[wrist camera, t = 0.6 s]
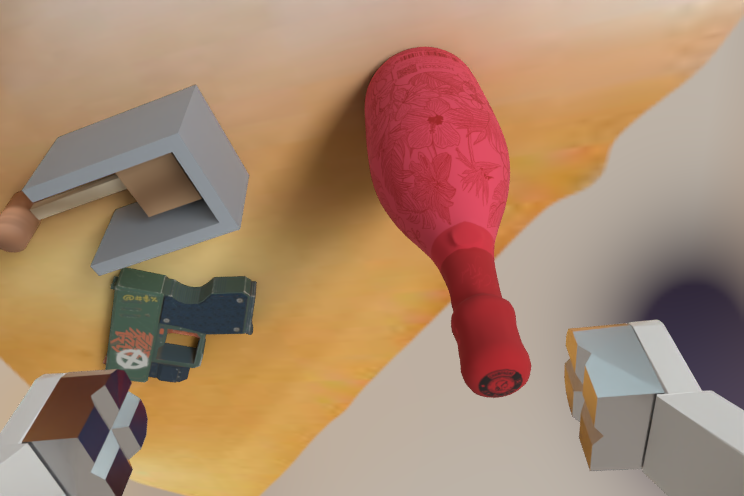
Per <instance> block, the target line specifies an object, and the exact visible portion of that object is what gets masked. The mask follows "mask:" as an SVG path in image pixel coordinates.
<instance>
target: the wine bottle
mask: <svg viewBox="0 0 744 496" xmlns="http://www.w3.org/2000/svg"><path fill="white" fill-rule="evenodd" d="M365 127H366V141H367V152H368V160H369V167H370V173H371V178H372V182H373V185H374V189H375V191H376V194H377V196H378V198H379V201H380V203H381V204H382V206H383V208H384V209H385V211H386V213H387V214H388V215H389V217H390V218H391V219H392V221H393V222H394V223H395V225H396V226H397V227H398V228H399V229H400V230H401V231H402V232H403V233H404V234H405V235H406V236H407V237H408V238H409V239H410V240H411V241H412V242H413V243H414V244H416V245H417V246H418V247H419V248H420V249H421V250H422V251H424V252H425V253H426V254H427V255H428V256H429V257H430V258H431V259H432V260H433V262H434V263H435V265H436V266H437V267H438V269H439V271H440V273H441V275H442V277H443V279H444V281H445V283H446V285H447V287H448V290H449V293H450V297H451V304H452V308H453V314H452V318H451V328H452V333H453V335H454V337H455V339H456V341H457V344H458V351H459V357H460V365H461V373H462V376H463V379H464V381H465V383H466V384H467V386H468V387H469V388H470V389H471V390H472V391H473V392H474V393H476V394H477V395H480V396H484V397H493V398H495V397H503V396H507V395H510V394H512V393H514V392H516V391H518V390H519V389H520V388H521V387H523V386H524V385H525V384H526V382H527V381H528V379H529V376H530V371H531V362H530V359H529V355H528V353H527V351H526V350H525V348H524V346H523V344H522V342H521V339H520V336H519V333H518V329H517V326H516V316H515V311H514V308H513V307H512V305H511V304H510V302H509V301H507V300H505V299H503V298H502V296H501V292H500V288H499V283H498V279H497V274H496V269H495V262H494V244H495V239H496V235H497V232H498V228H499V225H500V222H501V219H502V216H503V213H504V210H505V206H506V201H507V197H508V191H509V181H510V161H509V154H508V149H507V145H506V142H505V138H504V135H503V133H502V130H501V128H500V126H499V123H498V121H497V119H496V117H495V115H494V113H493V110H492V108H491V107H490V105H489V103H488V101H487V99H486V97H485V95H484V93H483V91H482V90H481V88H480V86H479V84H478V82H477V80H476V79H475V77H474V75H473V74H472V72H471V71H470V69H469V68H468V67H467V66H466V65H465V63H464V62H463V61H461V60H460V59H459V58H458V57H456V56H455V55H453V54H451V53H449V52H447V51H445V50H442V49H438V48H433V47H417V48H411V49H408V50H405V51H402V52H400V53H398V54H396V55H394V56H392V57H391V58H389V59H388V60H387V61H386V62H384V63H383V64H382V65H381V66H380V67H379V69H378V70H377V71H376V73H375V74H374V76H373V77H372V79H371V81H370V83H369V86H368V89H367V92H366V98H365Z"/></svg>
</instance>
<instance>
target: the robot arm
mask: <svg viewBox="0 0 744 496" xmlns="http://www.w3.org/2000/svg"><path fill="white" fill-rule="evenodd" d="M566 347H567V350H568V353H569V356H570V359H569V360H568V361H567V362H566V363H565V376H564V378H565V388H566V395H567V399H568V403H569V407H570V411H571V414H572V417H574V418H575V419H576V420H578V421H579V422H580V431H579V439H580V442H581V445H582V448H583V451H584V454H585V457H586V460H587V463H588V466H589V469H590V471H601V470H628V469H643V473H645V474H646V475H647V476H648V477H649V478H650V479H651V480H652V481H653V482H654V483H655V484H656V485H657V486H658V487H659V488H660V489H661V490H662V491H663V492H664V493H666V494H667V495H668V496H744V410H742V409H740V408H739V407H737V406H736V405H734V404H732V403H731V402H729V401H728V400H726V399H724V398H723V397H721V396H719V395H718V394H716V393H715V392H713V391H702V390H701V388H700V387H699V385H698V383H697V381H696V380H695V378H694V376H693V375H692V373H691V371H690V369H689V368H688V366H687V364H686V362H685V361H684V359H683V357H682V355H681V354H680V352H679V350H678V349H677V347H676V345H675V343H674V342H673V340H672V338H671V336H670V335H669V333H668V331H667V329H666V328H665V326H664V324H663V323H662V322H660V321H659V320H651V321H641V322H631V323H627V324H626V323H623V324H614V325H603V326H593V327H582V328H571V329H568V332H567V336H566ZM131 384H132V382H131V380H130V379H129V377H128V375H127V374H126V372H125V370H119V369H111V370H95V371H79V372H68V373H57V374H44V375H42V376H40V377H39V378H37V379H36V380H35V381H34V383H33V384H32V386H31V387H30V389H29V390H28V392H27V394H26V395H25V396H24V398H23V400H22V401H21V402H20V404H19V406H18V407H17V409H16V410H15V412H14V413H13V415H12V416H11V418H10V419H9V421H8V422H7V424H6V425H5V427H4V428H3V430H2V432H1V433H0V496H122V494H123V492H124V489H125V487H126V485H127V482H128V480H129V477H130V475H131V472H132V470H133V469H132V466H131V464H130V461H129V459H130V458H131V457H132V456H133V455H135V454H136V453H137V452H138V451H139V450H140V449H141V448H142V445H143V442H144V440H145V437H146V432H147V420H148V419H147V414H146V410H145V407H144V405H143V403H142V401H141V399H140V398H138V397H137V396H135V395H133V394H132V393H130V392H129V389H130V386H131Z"/></svg>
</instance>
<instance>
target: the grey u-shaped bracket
mask: <svg viewBox="0 0 744 496" xmlns="http://www.w3.org/2000/svg"><path fill="white" fill-rule="evenodd" d="M171 152H173V154H174V155H175V157H176V158H177V160H178V161H179V163H180V164H181V166H182V167H183V169H184V170H185V172H186V173H187V175H188V176H189V178H190V179H191V181H192V182H193V184H194V185H195V187H196V188H197V190H198V191H199V193H200V194H201V196H202V199H200V200H197V201H194V202H191V203H188V204H185V205H182V206H180V207H177V208H174V209H171V210H168V211H165V212H162V213H159V214H156V215H154V216H151V217H148V215H147V214H146V213H145V211H144V210H143V209H142V207H141V206H140V205H139V204H138V202H136V203H133V204H130V205H127V206H124V207H121V208H118V209H116V210H115V212H114V214H113V216H112V219H111V221H110V223H109V225H108V228H107V230H106V232H105V234H104V237H103V239H102V241H101V243H100V246H99V248H98V250H97V252H96V254H95V257H94V259H93V261H92V263H91V268H92V269H93V270H94V271H95V272H96V273H97V274H98V275H99V276H100V275H103V274H107V273H110V272H113V271H116V270H119V269H122V268H125V267H128V266H131V265H134V264H137V263H140V262H143V261H146V260H149V259H152V258H155V257H158V256H161V255H164V254H167V253H170V252H173V251H176V250H179V249H182V248H185V247H188V246H191V245H194V244H197V243H200V242H203V241H206V240H209V239H212V238H215V237H218V236H221V235H224V234H227V233H230V232H233V231H236V230H239V229H240V227H241V221H242V215H243V209H244V203H245V197H246V191H247V185H248V179H249V174H248V172H247V171H246V169H245V167H244V165H243V164H242V162H241V160H240V159H239V157H238V155H237V154H236V152H235V150H234V148H233V147H232V145H231V143H230V142H229V140H228V138H227V136H226V135H225V133H224V131H223V130H222V128H221V126H220V125H219V123H218V121H217V119H216V118H215V116H214V114H213V113H212V111H211V109H210V107H209V106H208V104H207V102H206V101H205V99H204V97H203V96H202V94H201V92H200V90H199V89H198V87H197V85H194V86H191V87H188V88H186V89H183V90H181V91H178V92H175V93H173V94H170V95H167V96H165V97H162V98H160V99H157V100H154V101H152V102H149V103H147V104H144V105H141V106H139V107H136V108H133V109H131V110H128V111H126V112H123V113H120V114H118V115H115V116H112V117H110V118H107V119H105V120H102V121H99V122H97V123H94V124H92V125H89V126H86V127H84V128H81V129H78V130H76V131H73V132H71V133H68V134H65V135H63V136H60V137H58V138H57V139H56V141H55V142H54V144H53V145H52V147H51V148H50V150H49V151H48V153H47V154H46V156H45V157H44V159H43V160H42V161H41V163H40V164H39V166H38V167H37V169H36V170H35V172H34V173H33V175H32V176H31V178H30V179H29V181H28V182H27V184H26V185H25V187H24V188H23V190H22V191H23V192H24V194H25V195H26V196H27V197H28V198H29V199H30V200H31V201H32V202H36V201H39V200H42V199H44V198H47V197H50V196H53V195H55V194H58V193H61V192H64V191H66V190H69V189H72V188H75V187H77V186H80V185H83V184H86V183H88V182H91V181H94V180H97V179H99V178H102V177H105V176H108V175H110V174H113V173H116V172H119V171H121V170H124V169H127V168H130V167H132V166H135V165H138V164H141V163H143V162H146V161H149V160H152V159H154V158H157V157H160V156H163V155H165V154H168V153H171Z"/></svg>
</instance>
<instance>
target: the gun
mask: <svg viewBox="0 0 744 496" xmlns="http://www.w3.org/2000/svg"><path fill="white" fill-rule="evenodd" d="M256 283H257V282H256V281H251V280H250V279H249V278H247V277H246V276H238V277H214V278H213V279H212V280H210V281H209V282H208V283H207V284H205V285H203V286H202V287H189V286H186V285H183V284H181V283H179V282H178V281H176V280H174V279H168V277H167V276H166V275H161V274H156V273H151V272H146V271H141V270H136V269H131V268H126V267H125V268H122V269H121V272H120V274H119V277H117V276H114V279H113V282H112V284H111V289H114V290H115V293H114V301H113V310H112V318H111V327H110V335H109V344H108V352H107V354H106V357H105V359H104V361H103V363H104V364H106V369H105V370H111V369H119V370H125V372H126V374H127V375H128V377H129V379H130V380H131V381H138V382H146V381H148V377H154V378H156V377H157V378H158V379H159V380H161V381H168V382H175V383H176V382H181V381H183V380H185V379H187V377H188V373H189V369H190V368H195V367H198V366H200V365H201V361H202V358H203V353H204V347H205V341H206V339H205V336H206V334H245V333H246V334H249V335H251V334H252V333H253V324H252V316H253V310H254V303H255V295H256ZM168 333H177V334H183V335H190V336H195V337H197V338H198V339H199V341H198V345H197V348H193V347H187V346H181V345H175V344H169V343H165V340H166V335H167V334H168Z"/></svg>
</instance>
